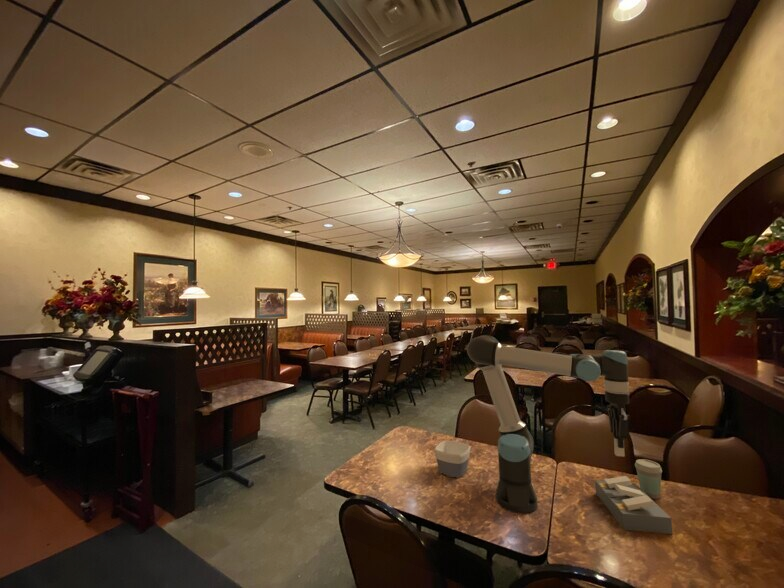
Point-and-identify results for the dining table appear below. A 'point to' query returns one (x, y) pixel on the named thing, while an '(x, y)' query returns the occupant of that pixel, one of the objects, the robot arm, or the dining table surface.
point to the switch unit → (633, 511)
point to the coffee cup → (649, 477)
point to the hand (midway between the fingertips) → (619, 455)
